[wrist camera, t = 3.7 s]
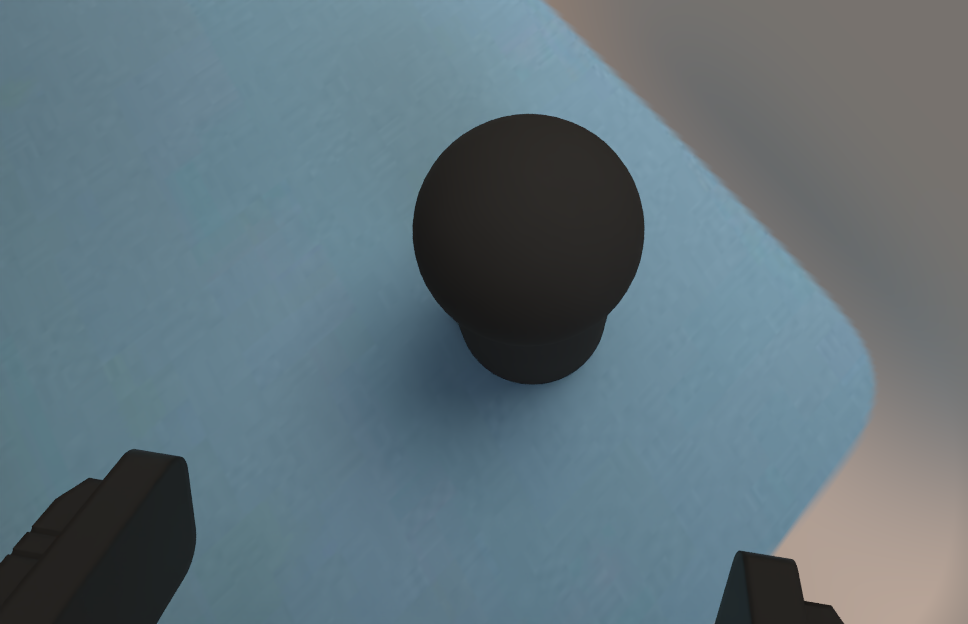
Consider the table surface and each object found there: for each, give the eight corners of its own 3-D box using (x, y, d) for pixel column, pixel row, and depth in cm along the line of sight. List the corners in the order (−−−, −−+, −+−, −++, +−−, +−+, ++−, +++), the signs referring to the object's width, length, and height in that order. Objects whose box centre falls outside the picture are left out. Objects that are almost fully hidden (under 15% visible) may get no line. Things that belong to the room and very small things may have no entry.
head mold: (653, 299, 27) (711, 163, 17) (546, 434, 26) (546, 366, 16) (519, 200, 28) (505, 23, 18) (411, 326, 27) (342, 206, 18)
